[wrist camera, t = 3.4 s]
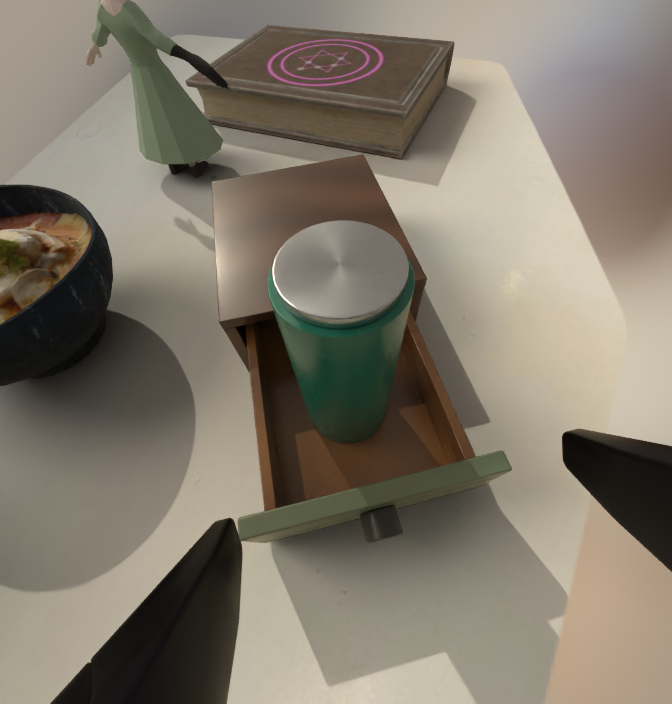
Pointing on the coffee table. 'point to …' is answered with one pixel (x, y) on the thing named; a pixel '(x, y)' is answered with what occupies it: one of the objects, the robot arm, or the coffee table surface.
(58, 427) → the coffee table surface
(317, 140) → the book
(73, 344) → the bowl
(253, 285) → the cabinet
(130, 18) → the character figurine
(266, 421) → the drawer
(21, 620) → the coffee table surface
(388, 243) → the can
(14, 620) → the coffee table surface
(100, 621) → the coffee table surface
